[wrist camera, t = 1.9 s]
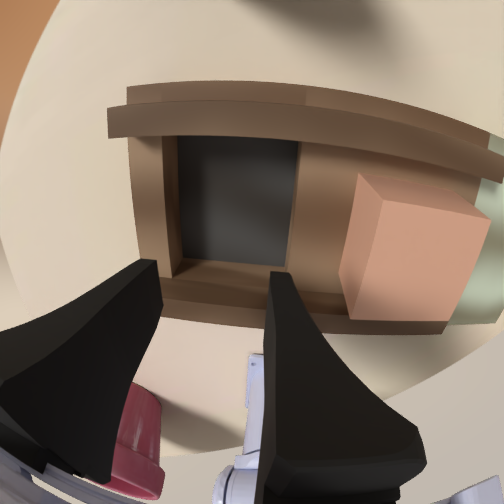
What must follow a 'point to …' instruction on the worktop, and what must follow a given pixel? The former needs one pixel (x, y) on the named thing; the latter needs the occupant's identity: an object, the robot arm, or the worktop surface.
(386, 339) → the worktop surface
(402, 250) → the block
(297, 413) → the robot arm
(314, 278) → the chute
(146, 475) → the plant pot
